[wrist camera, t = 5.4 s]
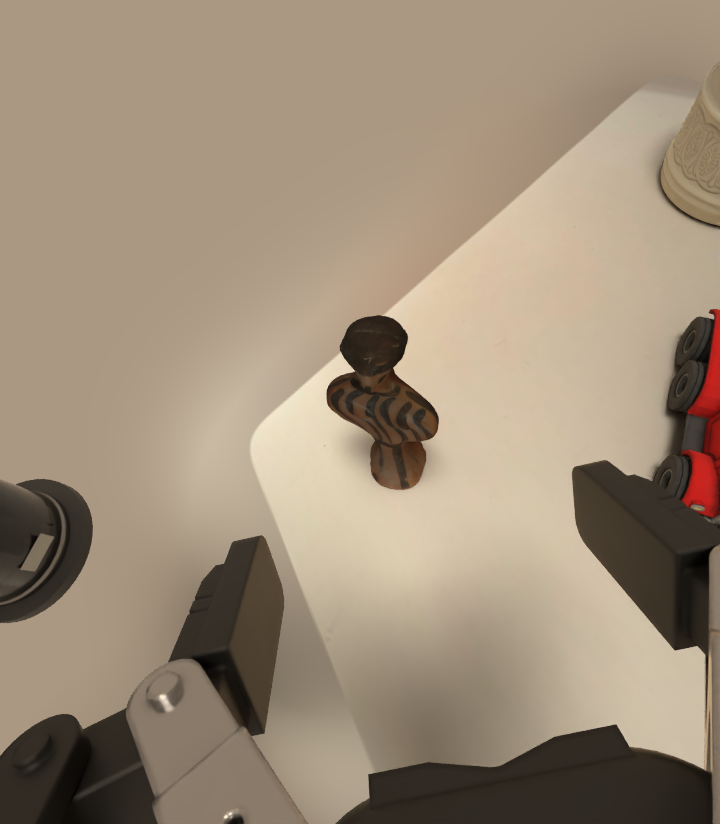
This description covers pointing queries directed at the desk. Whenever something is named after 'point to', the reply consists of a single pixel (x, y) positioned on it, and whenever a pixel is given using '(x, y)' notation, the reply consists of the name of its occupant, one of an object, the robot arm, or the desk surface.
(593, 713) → the desk surface
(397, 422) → the figurine
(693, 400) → the toy truck
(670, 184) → the jar
